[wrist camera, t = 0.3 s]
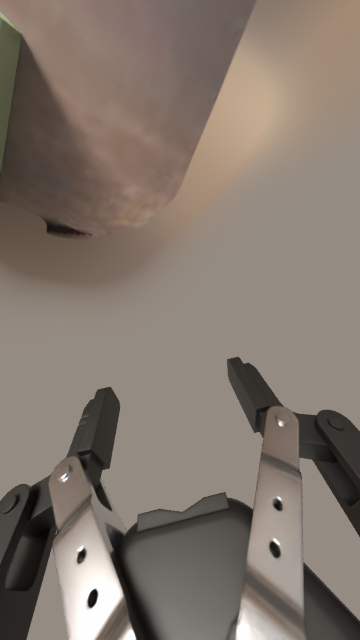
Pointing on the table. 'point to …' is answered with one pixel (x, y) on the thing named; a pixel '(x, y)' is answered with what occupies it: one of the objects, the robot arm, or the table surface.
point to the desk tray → (7, 74)
